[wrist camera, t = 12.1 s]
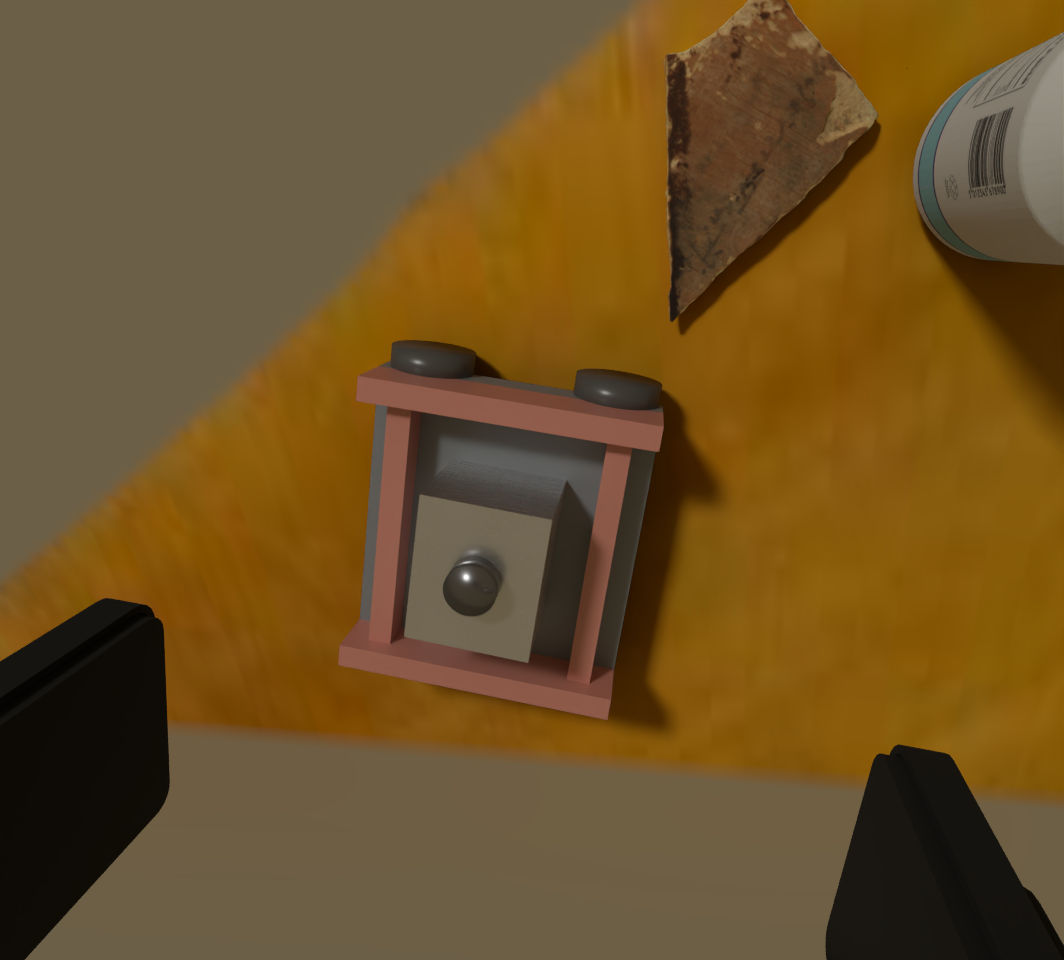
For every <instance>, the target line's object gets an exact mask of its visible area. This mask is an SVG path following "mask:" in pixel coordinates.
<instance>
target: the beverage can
mask: <svg viewBox="0 0 1064 960" xmlns="http://www.w3.org/2000/svg"><path fill="white" fill-rule="evenodd" d="M913 186H914V194H915V199H916V203H917V206H918V209H919V212H920V214H921V216H922V218H923V220H924V222H925V223H926V225H927V226H928V228H929V229H930V230H931V232H932V233H933V234H934V235H935V236H936V237H937V238H938V239H939V240H940V241H941V242H942V243H944V244H945V245H947V246H948V247H949V248H951V249H953V250H955V251H957V252H959V253H961V254H963V255H966V256H969V257H973V258H977V259H982V260H992V261H1008V262H1023V263H1039V264H1054V265H1064V32H1063V33H1061V34H1059V35H1057V36H1055V37H1053V38H1051V39H1049V40H1047V41H1046V42H1044V43H1042V44H1040V45H1038V46H1036V47H1034V48H1032V49H1030V50H1028V51H1026V52H1024V53H1022V54H1020V55H1018V56H1016V57H1014V58H1012V59H1010V60H1008V61H1006V62H1004V63H1002V64H1000V65H998V66H996V67H994V68H992V69H990V70H988V71H986V72H984V73H982V74H980V75H978V76H976V77H975V78H973V79H971V80H970V81H968V82H967V83H965V84H964V85H963V86H961V87H960V88H959V89H958V90H956V91H955V92H954V93H953V94H952V95H951V96H950V97H949V98H948V99H947V100H946V101H945V102H944V103H943V104H942V105H941V106H940V108H939V109H938V110H937V112H936V113H935V114H934V116H933V117H932V119H931V120H930V122H929V124H928V126H927V127H926V129H925V131H924V133H923V136H922V138H921V140H920V143H919V146H918V149H917V153H916V157H915V162H914V170H913Z"/></svg>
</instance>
